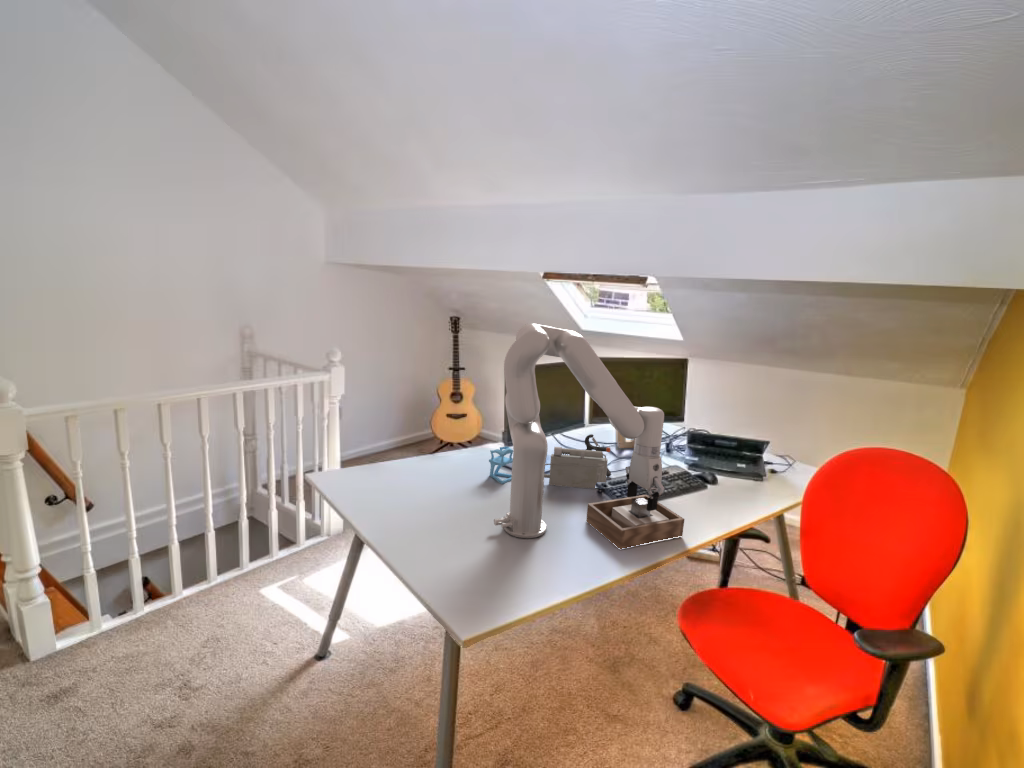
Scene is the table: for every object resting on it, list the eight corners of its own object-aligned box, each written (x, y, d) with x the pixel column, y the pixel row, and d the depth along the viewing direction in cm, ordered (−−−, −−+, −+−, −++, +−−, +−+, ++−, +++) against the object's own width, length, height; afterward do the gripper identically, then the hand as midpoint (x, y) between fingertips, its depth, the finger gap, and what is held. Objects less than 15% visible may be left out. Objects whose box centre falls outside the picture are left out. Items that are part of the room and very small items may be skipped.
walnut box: (619, 550, 153) (621, 530, 152) (586, 521, 169) (587, 503, 168) (682, 537, 162) (684, 519, 161) (644, 511, 178) (646, 494, 177)
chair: (498, 472, 206) (500, 441, 203) (516, 478, 200) (517, 447, 198) (485, 477, 200) (486, 446, 197) (502, 484, 195) (503, 452, 192)
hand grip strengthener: (609, 478, 204) (613, 440, 201) (578, 470, 211) (581, 433, 207) (611, 476, 206) (615, 438, 203) (581, 469, 212) (584, 432, 209)
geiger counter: (607, 448, 195) (537, 443, 197) (609, 454, 189) (536, 448, 191) (604, 485, 198) (535, 479, 200) (605, 492, 192) (534, 486, 194)
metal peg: (637, 529, 164) (640, 505, 162) (629, 523, 167) (632, 499, 165) (648, 527, 165) (651, 503, 163) (640, 521, 169) (643, 497, 167)
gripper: (677, 457, 155) (670, 513, 159) (639, 438, 170) (634, 490, 174) (655, 460, 152) (649, 517, 156) (619, 441, 167) (614, 493, 171)
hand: (641, 503), depth 165 cm, fingers open, 9 cm apart
